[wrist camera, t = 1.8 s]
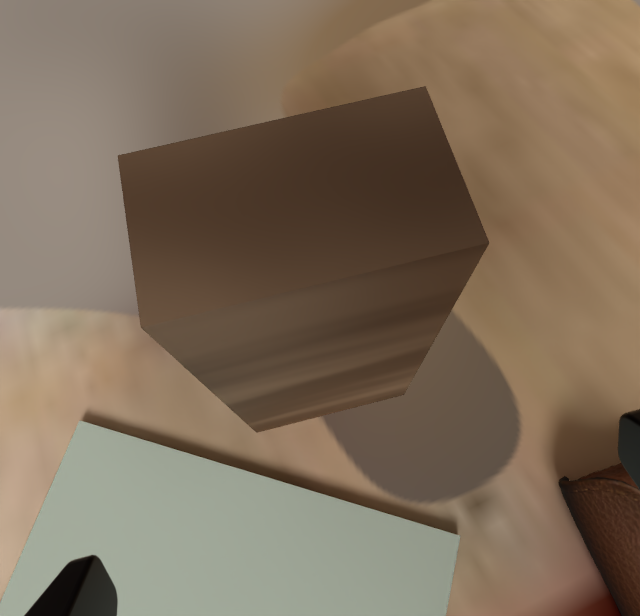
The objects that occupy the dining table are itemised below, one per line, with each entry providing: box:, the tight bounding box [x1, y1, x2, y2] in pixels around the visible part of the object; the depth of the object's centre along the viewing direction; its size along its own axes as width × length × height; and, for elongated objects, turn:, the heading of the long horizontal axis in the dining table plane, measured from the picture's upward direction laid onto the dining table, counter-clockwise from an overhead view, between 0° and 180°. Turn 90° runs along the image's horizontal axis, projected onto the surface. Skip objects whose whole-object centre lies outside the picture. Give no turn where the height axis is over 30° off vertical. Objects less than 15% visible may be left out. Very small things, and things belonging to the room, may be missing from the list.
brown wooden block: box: [118, 86, 489, 432], centre depth 16 cm, size 4×6×13 cm, turn 104°
